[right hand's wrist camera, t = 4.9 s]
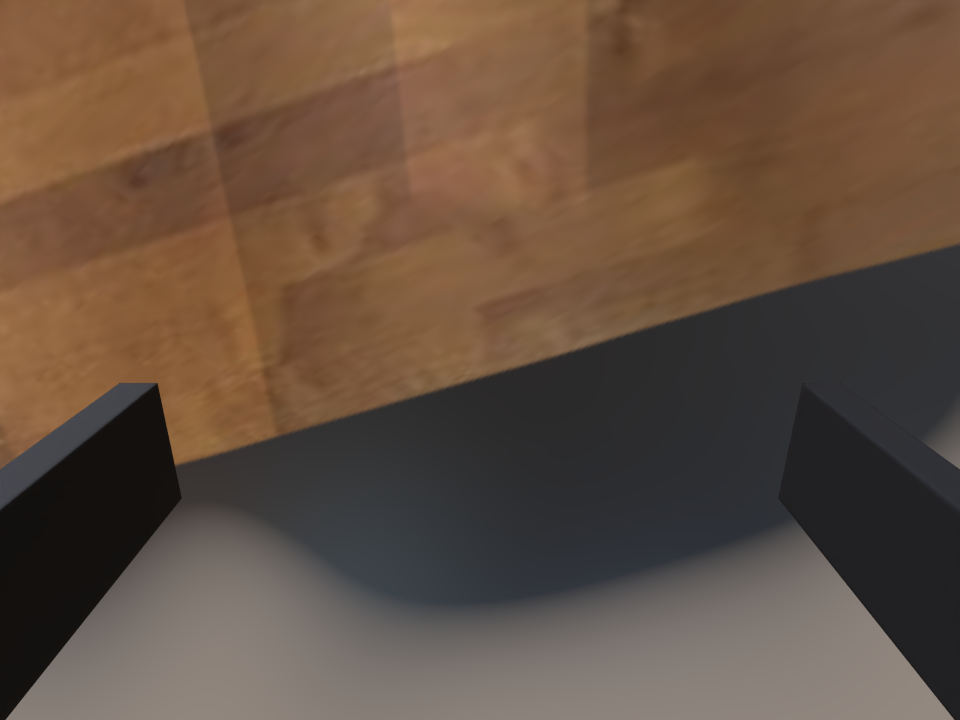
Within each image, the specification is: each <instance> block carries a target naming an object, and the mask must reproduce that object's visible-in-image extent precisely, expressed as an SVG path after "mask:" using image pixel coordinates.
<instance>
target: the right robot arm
mask: <svg viewBox="0 0 960 720" xmlns="http://www.w3.org/2000/svg"><path fill="white" fill-rule="evenodd" d="M779 499H780V501H781V502H782V503H783V505H784V506H785V507H786V508H787V510H788V511H789V512H790V513H791V515H792V516H793V517H794V518H795V520H796V521H797V522H798V524H799V525H800V526H801V527H802V529H803V530H804V531H805V532H806V534H807V535H808V536H809V537H810V539H811V540H812V541H813V542H814V544H815V545H816V546H817V547H818V549H819V550H820V551H821V552H822V554H823V555H824V556H825V557H826V559H827V560H828V561H829V563H830V564H831V565H832V566H833V567H834V569H835V570H836V571H837V572H838V574H839V575H840V576H841V578H842V579H843V580H844V581H845V583H846V584H847V585H848V586H849V588H850V589H851V590H852V591H853V593H854V594H855V595H856V596H857V598H858V599H859V600H860V601H861V603H862V604H863V605H864V607H865V608H866V609H867V610H868V612H869V613H870V614H871V615H872V617H873V618H874V619H875V620H876V622H877V623H878V624H879V625H880V627H881V628H882V629H883V630H884V632H885V633H886V634H887V635H888V637H889V638H890V639H891V640H892V642H893V643H894V644H895V646H896V647H897V648H898V649H899V651H900V652H901V653H902V654H903V656H904V657H905V658H906V659H907V661H908V662H909V663H910V664H911V666H912V667H913V668H914V669H915V671H916V672H917V673H918V674H919V676H920V677H921V678H922V679H923V681H924V682H925V683H926V684H927V686H928V687H929V688H930V689H931V691H932V692H933V693H934V695H935V696H936V697H937V698H938V700H939V701H940V702H941V703H942V705H943V706H944V707H945V708H946V710H947V711H948V712H949V713H950V715H951V716H952V717H953V718H954V720H960V469H958V468H957V467H956V466H954V465H953V464H951V463H950V462H949V461H947V460H946V459H944V458H943V457H942V456H940V455H939V454H938V453H936V452H935V451H933V450H932V449H931V448H929V447H928V446H926V445H925V444H924V443H922V442H921V441H920V440H918V439H917V438H915V437H914V436H913V435H911V434H910V433H908V432H907V431H906V430H904V429H903V428H902V427H900V426H899V425H897V424H896V423H895V422H893V421H892V420H890V419H889V418H888V417H886V416H885V415H884V414H882V413H881V412H879V411H878V410H876V409H875V408H874V407H872V406H871V405H870V404H868V403H867V402H866V401H864V400H863V399H861V398H860V397H859V396H857V395H856V394H854V393H853V392H852V391H850V390H849V389H848V388H846V387H845V386H843V385H842V384H841V383H803V384H802V388H801V393H800V398H799V403H798V407H797V412H796V417H795V422H794V426H793V431H792V436H791V441H790V445H789V450H788V455H787V460H786V464H785V469H784V474H783V479H782V483H781V488H780V493H779ZM180 500H181V493H180V488H179V484H178V479H177V474H176V469H175V464H174V460H173V455H172V450H171V445H170V441H169V436H168V431H167V426H166V422H165V417H164V412H163V407H162V403H161V398H160V393H159V388H158V384H157V383H119V384H118V385H117V386H115V387H114V388H112V389H111V390H110V391H108V392H107V393H106V394H104V395H103V396H101V397H100V398H99V399H97V400H96V401H94V402H93V403H92V404H90V405H89V406H88V407H86V408H85V409H83V410H82V411H81V412H79V413H78V414H76V415H75V416H74V417H72V418H71V419H70V420H68V421H67V422H65V423H64V424H63V425H61V426H60V427H58V428H57V429H56V430H54V431H53V432H52V433H50V434H49V435H47V436H46V437H45V438H43V439H42V440H40V441H39V442H38V443H36V444H35V445H34V446H32V447H31V448H29V449H28V450H27V451H25V452H24V453H22V454H21V455H20V456H18V457H17V458H16V459H14V460H13V461H11V462H10V463H9V464H7V465H6V466H4V467H3V468H2V469H0V720H6V718H7V717H8V716H9V715H10V713H11V712H12V711H13V710H14V708H15V707H16V706H17V704H18V703H19V702H20V701H21V700H22V698H23V697H24V696H25V695H26V693H27V692H28V691H29V689H30V688H31V687H32V686H33V684H34V683H35V682H36V681H37V679H38V678H39V677H40V676H41V674H42V673H43V672H44V671H45V669H46V668H47V667H48V666H49V664H50V663H51V662H52V661H53V659H54V658H55V657H56V656H57V654H58V653H59V652H60V651H61V649H62V648H63V647H64V645H65V644H66V643H67V642H68V640H69V639H70V638H71V637H72V635H73V634H74V633H75V632H76V630H77V629H78V628H79V627H80V625H81V624H82V623H83V622H84V620H85V619H86V618H87V616H88V615H89V614H90V613H91V612H92V610H93V609H94V608H95V607H96V605H97V604H98V603H99V601H100V600H101V599H102V598H103V596H104V595H105V594H106V593H107V591H108V590H109V589H110V588H111V586H112V585H113V584H114V583H115V581H116V580H117V579H118V578H119V576H120V575H121V574H122V573H123V571H124V570H125V569H126V567H127V566H128V565H129V564H130V563H131V561H132V560H133V559H134V557H135V556H136V555H137V554H138V552H139V551H140V550H141V549H142V547H143V546H144V545H145V544H146V542H147V541H148V540H149V539H150V537H151V536H152V535H153V534H154V532H155V531H156V530H157V529H158V527H159V526H160V525H161V524H162V522H163V521H164V520H165V518H166V517H167V516H168V515H169V513H170V512H171V511H172V510H173V508H174V507H175V506H176V505H177V503H178V502H179V501H180Z"/></svg>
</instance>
